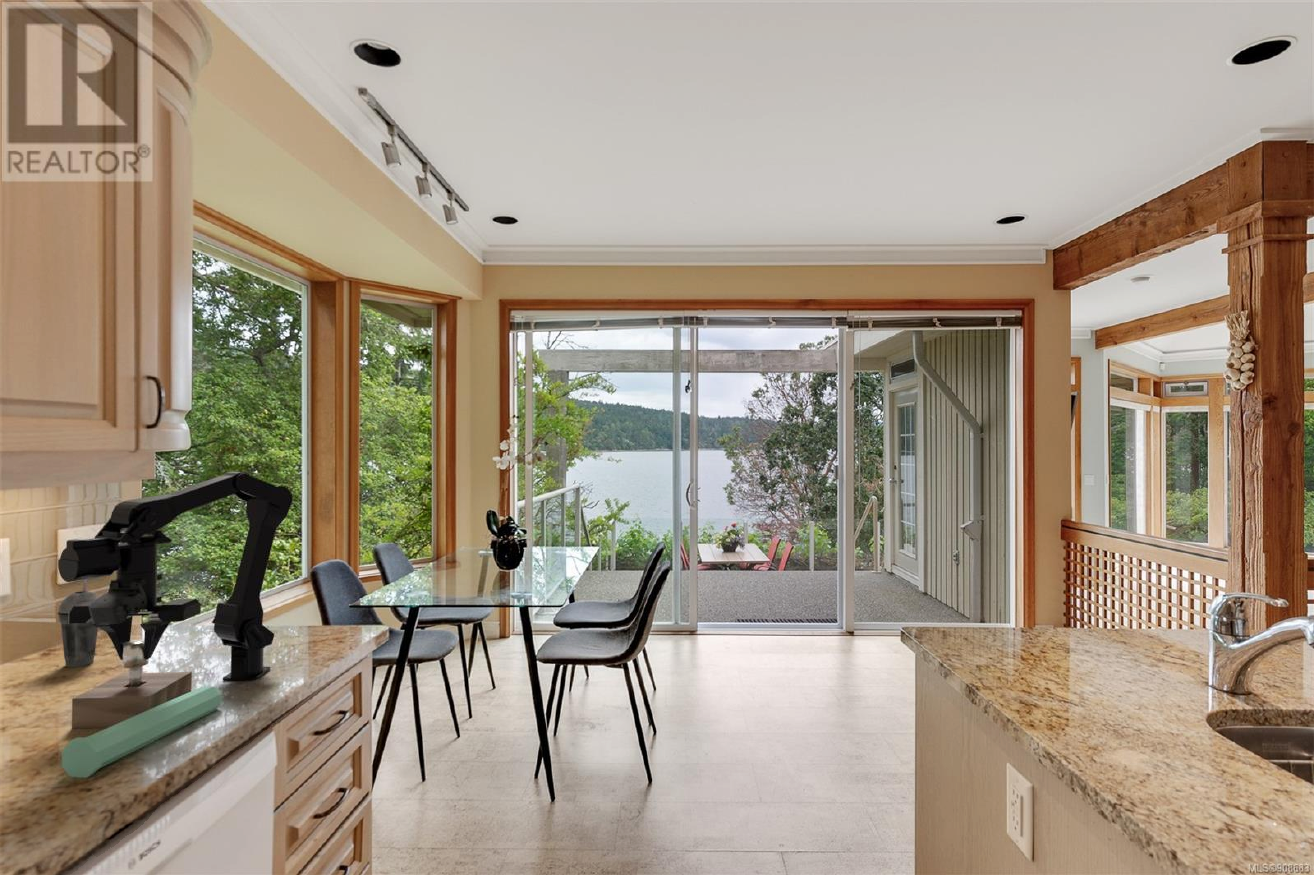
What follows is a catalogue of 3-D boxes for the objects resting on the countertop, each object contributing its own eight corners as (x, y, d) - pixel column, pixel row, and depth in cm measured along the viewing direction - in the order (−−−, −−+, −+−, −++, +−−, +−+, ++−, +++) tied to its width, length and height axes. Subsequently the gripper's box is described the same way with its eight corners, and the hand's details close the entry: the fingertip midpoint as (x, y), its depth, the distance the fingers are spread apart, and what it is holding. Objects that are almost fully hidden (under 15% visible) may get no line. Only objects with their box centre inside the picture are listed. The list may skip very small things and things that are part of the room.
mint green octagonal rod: (207, 674, 119) (69, 731, 94) (234, 688, 119) (103, 750, 94) (195, 703, 119) (54, 769, 95) (222, 718, 119) (87, 787, 94)
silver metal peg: (131, 686, 118) (132, 639, 118) (152, 686, 118) (153, 639, 118) (117, 694, 114) (117, 645, 114) (139, 693, 115) (139, 645, 115)
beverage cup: (47, 668, 138) (48, 573, 138) (83, 657, 145) (84, 567, 146) (75, 670, 137) (77, 575, 137) (110, 659, 144) (112, 568, 144)
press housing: (122, 700, 122) (122, 673, 122) (191, 698, 123) (191, 671, 123) (71, 728, 110) (72, 698, 110) (148, 726, 111) (149, 696, 111)
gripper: (42, 581, 108) (40, 676, 107) (163, 580, 109) (162, 673, 109) (93, 568, 119) (92, 654, 119) (203, 567, 121) (201, 652, 120)
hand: (135, 659), depth 116 cm, fingers closed on silver metal peg, 4 cm apart
